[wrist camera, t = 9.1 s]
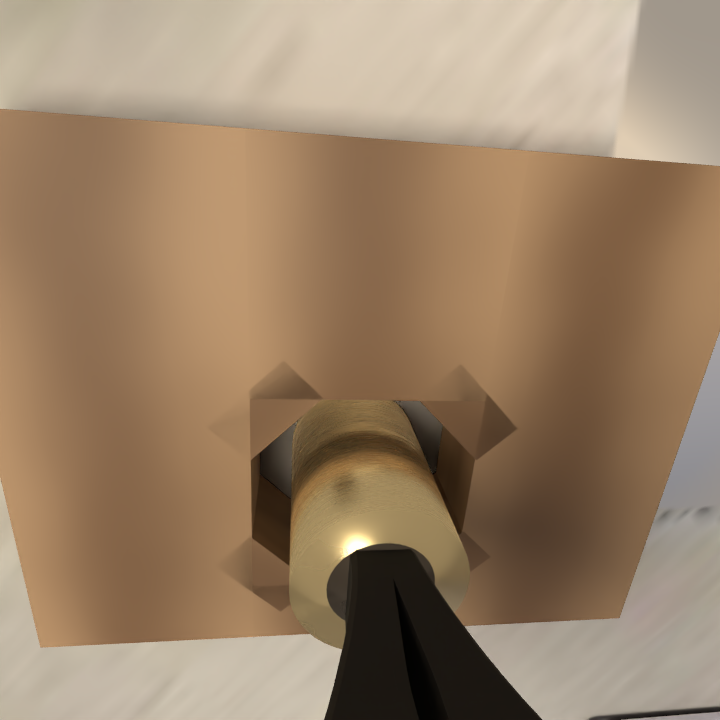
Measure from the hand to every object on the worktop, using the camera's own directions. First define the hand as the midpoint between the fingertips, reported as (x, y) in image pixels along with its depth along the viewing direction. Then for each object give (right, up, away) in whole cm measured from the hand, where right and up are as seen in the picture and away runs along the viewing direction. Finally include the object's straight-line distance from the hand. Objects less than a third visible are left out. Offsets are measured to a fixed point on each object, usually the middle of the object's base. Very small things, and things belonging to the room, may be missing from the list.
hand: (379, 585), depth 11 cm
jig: (-1, +4, +5) cm, 6 cm away
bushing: (-1, +2, +6) cm, 6 cm away
